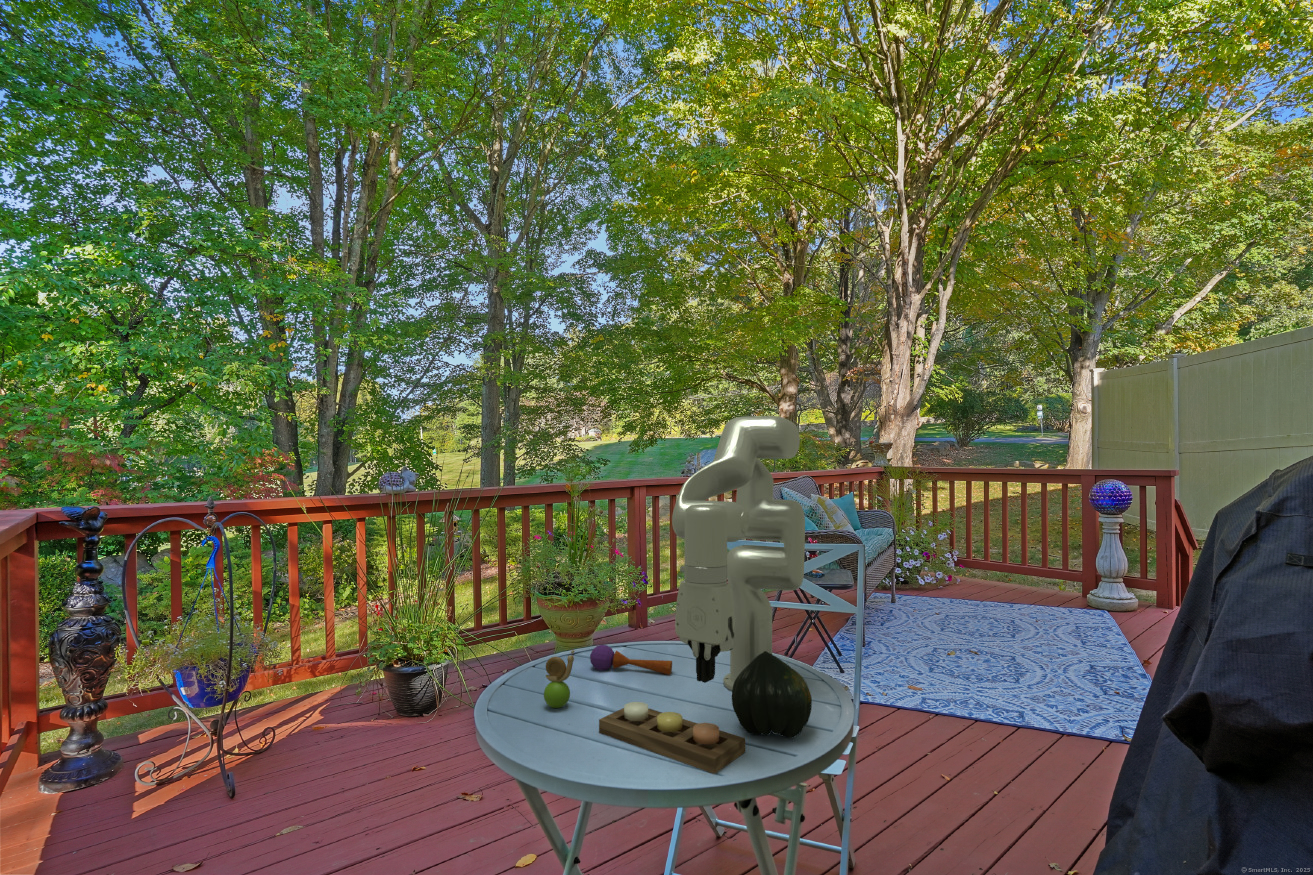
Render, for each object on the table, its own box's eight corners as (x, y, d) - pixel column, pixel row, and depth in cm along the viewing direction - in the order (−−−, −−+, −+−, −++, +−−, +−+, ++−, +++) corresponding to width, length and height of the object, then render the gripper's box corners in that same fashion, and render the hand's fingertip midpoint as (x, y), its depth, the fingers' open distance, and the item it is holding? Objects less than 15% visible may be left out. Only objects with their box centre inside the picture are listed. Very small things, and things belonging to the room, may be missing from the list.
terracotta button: (702, 730, 119) (702, 720, 119) (724, 737, 117) (724, 727, 117) (687, 739, 116) (687, 728, 116) (709, 746, 113) (709, 735, 113)
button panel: (632, 715, 133) (632, 703, 133) (745, 752, 117) (745, 737, 117) (599, 732, 125) (599, 719, 125) (714, 773, 109) (714, 758, 109)
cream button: (634, 709, 129) (634, 699, 129) (653, 714, 126) (653, 705, 126) (619, 716, 126) (619, 707, 126) (637, 722, 123) (637, 713, 123)
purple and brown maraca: (668, 662, 155) (587, 650, 159) (667, 686, 156) (586, 673, 160) (673, 650, 160) (594, 638, 165) (672, 673, 161) (594, 660, 166)
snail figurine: (569, 713, 134) (569, 654, 134) (539, 711, 135) (539, 652, 136) (578, 703, 139) (578, 646, 140) (549, 701, 141) (549, 644, 141)
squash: (795, 728, 114) (806, 647, 124) (714, 716, 121) (731, 640, 130) (812, 758, 123) (821, 680, 133) (736, 745, 130) (750, 672, 139)
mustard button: (667, 719, 124) (667, 709, 124) (687, 725, 121) (687, 715, 122) (652, 727, 121) (652, 717, 121) (672, 734, 118) (672, 724, 118)
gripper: (659, 573, 118) (658, 676, 118) (730, 582, 109) (730, 695, 108) (683, 567, 124) (683, 666, 124) (753, 576, 115) (753, 683, 114)
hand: (705, 679), depth 116 cm, fingers closed
